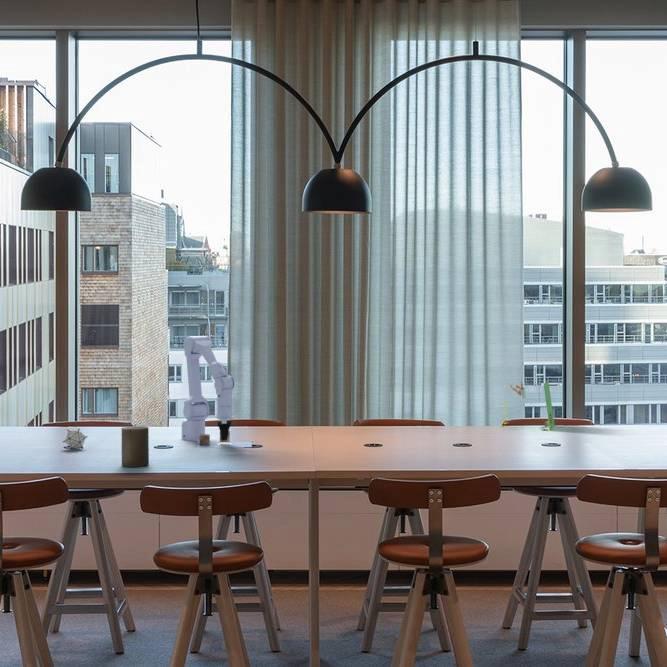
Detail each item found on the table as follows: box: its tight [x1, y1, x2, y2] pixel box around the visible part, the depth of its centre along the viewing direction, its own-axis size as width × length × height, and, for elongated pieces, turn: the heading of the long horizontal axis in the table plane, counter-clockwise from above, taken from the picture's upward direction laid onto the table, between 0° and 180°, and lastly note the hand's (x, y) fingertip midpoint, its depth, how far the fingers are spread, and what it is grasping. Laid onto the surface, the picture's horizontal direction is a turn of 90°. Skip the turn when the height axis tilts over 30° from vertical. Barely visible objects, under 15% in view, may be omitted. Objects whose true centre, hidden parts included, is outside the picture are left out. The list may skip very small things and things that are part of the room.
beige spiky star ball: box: [62, 428, 89, 451], centre depth 423 cm, size 9×8×10 cm
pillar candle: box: [121, 425, 150, 468], centre depth 383 cm, size 10×10×15 cm
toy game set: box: [498, 380, 555, 431], centre depth 496 cm, size 22×25×24 cm
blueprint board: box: [196, 441, 253, 449], centre depth 433 cm, size 22×15×1 cm
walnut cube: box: [199, 433, 211, 446], centre depth 432 cm, size 4×4×4 cm
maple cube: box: [219, 430, 231, 442], centre depth 433 cm, size 4×4×4 cm
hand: (224, 439), depth 433 cm, fingers closed on maple cube, 4 cm apart
